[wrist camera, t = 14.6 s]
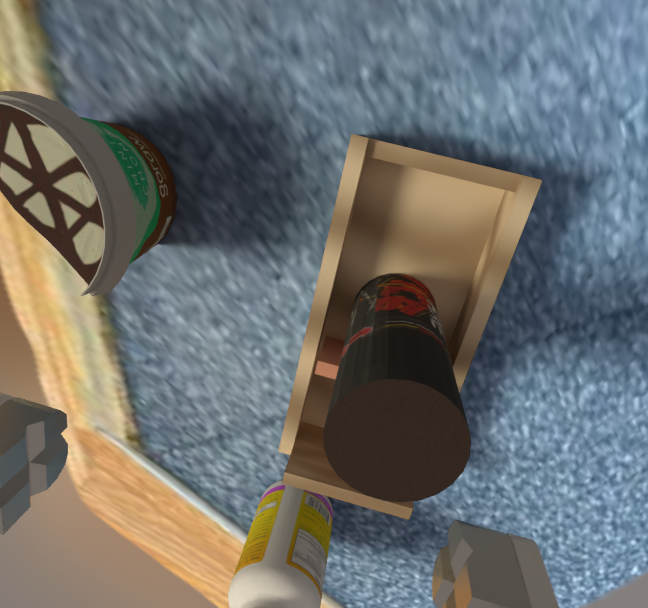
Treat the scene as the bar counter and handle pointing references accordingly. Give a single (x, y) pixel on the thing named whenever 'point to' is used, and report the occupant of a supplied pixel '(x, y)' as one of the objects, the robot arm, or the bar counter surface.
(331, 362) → the plate
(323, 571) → the supplement bottle
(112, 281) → the food container
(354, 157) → the tray
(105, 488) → the bar counter surface
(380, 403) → the deodorant
